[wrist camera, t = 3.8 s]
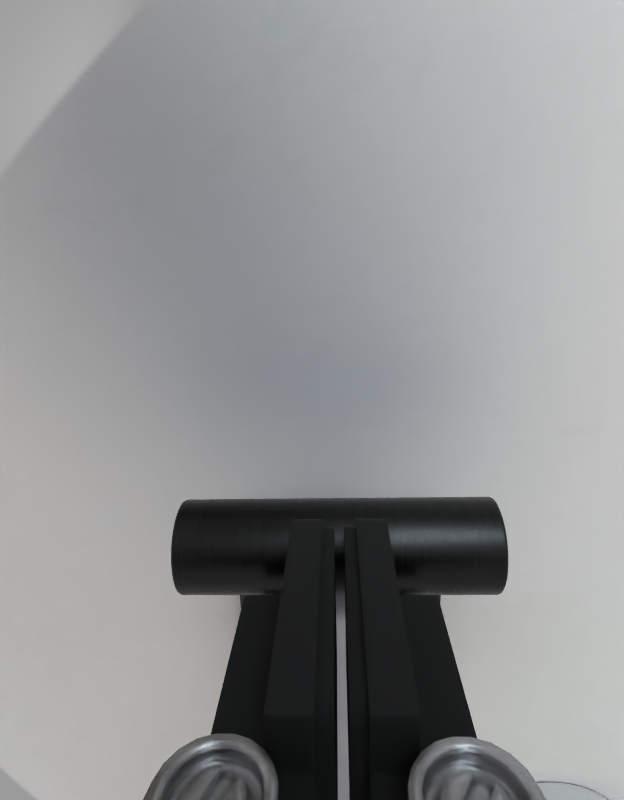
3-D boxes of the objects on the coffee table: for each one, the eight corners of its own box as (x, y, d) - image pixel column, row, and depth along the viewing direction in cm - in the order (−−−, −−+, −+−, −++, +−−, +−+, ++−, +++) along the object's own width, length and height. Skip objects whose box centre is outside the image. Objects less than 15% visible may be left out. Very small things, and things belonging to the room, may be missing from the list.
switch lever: (195, 477, 11) (159, 540, 9) (480, 474, 11) (518, 538, 9) (238, 870, 15) (220, 985, 13) (451, 876, 15) (473, 994, 12)
